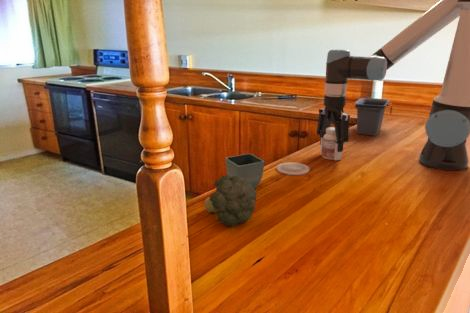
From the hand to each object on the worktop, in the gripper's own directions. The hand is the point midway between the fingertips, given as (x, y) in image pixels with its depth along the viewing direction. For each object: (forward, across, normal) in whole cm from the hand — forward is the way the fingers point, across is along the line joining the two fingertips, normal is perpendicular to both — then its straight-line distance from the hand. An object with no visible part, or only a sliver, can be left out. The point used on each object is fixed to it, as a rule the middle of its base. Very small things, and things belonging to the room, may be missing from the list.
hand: (330, 156), depth 139 cm
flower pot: (+1, -10, +42) cm, 43 cm away
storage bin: (+1, +21, -43) cm, 48 cm away
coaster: (0, -4, +20) cm, 20 cm away
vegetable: (+1, -26, +55) cm, 61 cm away
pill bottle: (0, 0, 0) cm, 0 cm away
